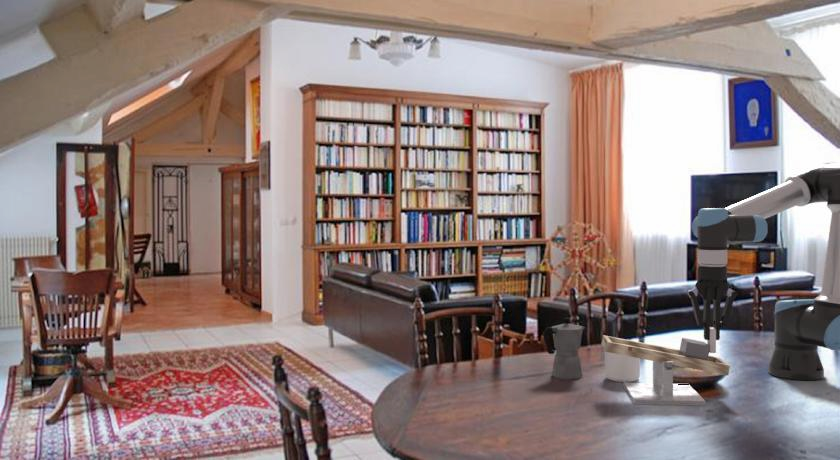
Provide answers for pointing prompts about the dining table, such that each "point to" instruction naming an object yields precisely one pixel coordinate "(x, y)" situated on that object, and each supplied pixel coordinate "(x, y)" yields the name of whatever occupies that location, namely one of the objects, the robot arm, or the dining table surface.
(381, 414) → the dining table surface
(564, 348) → the coffeepot
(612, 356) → the cup
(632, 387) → the stand
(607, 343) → the beam
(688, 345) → the block
